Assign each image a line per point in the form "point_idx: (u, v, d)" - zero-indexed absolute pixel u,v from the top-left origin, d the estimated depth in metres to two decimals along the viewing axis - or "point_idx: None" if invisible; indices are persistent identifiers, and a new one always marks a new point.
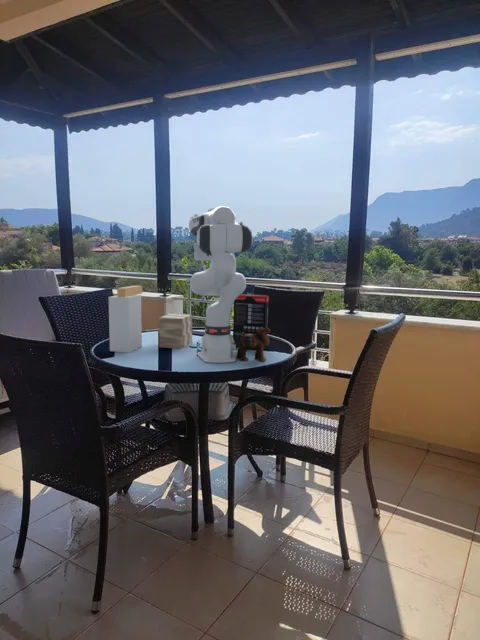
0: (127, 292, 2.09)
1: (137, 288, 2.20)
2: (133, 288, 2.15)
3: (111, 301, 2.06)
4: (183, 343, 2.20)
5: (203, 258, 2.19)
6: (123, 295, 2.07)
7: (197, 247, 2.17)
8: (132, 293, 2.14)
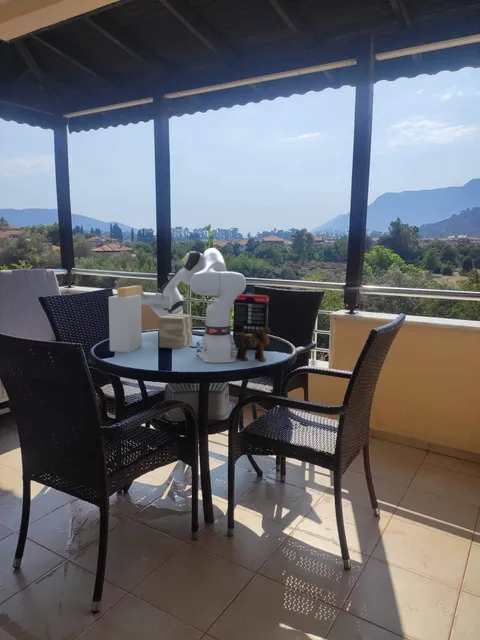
0: (127, 292, 2.09)
1: (137, 288, 2.20)
2: (133, 288, 2.15)
3: (111, 301, 2.06)
4: (183, 343, 2.20)
5: None
6: (123, 295, 2.07)
7: None
8: (132, 293, 2.14)
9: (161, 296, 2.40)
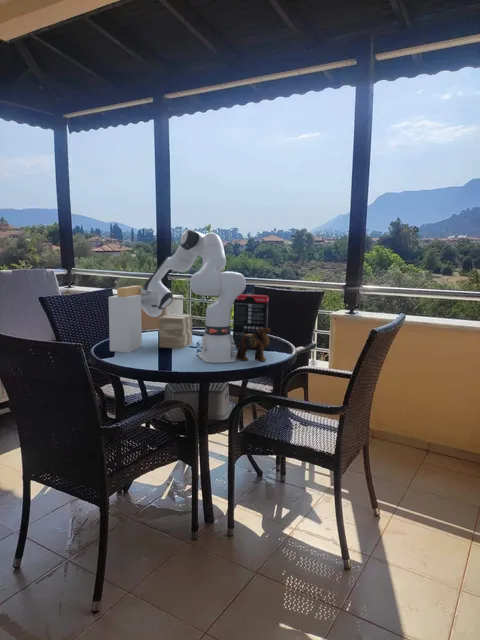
0: (127, 292, 2.09)
1: (137, 288, 2.20)
2: (133, 288, 2.15)
3: (111, 301, 2.06)
4: (183, 343, 2.20)
5: None
6: (123, 295, 2.07)
7: None
8: (132, 293, 2.14)
9: (145, 291, 2.24)
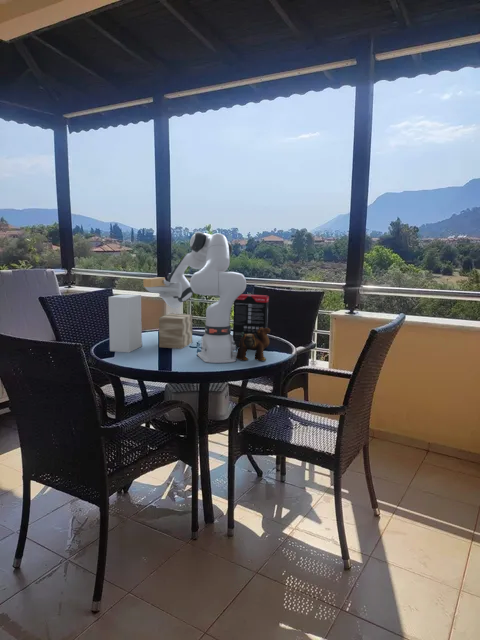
0: (153, 282, 2.21)
1: (161, 279, 2.31)
2: (157, 279, 2.27)
3: (111, 301, 2.06)
4: (183, 343, 2.20)
5: None
6: (149, 285, 2.19)
7: None
8: (157, 284, 2.26)
9: (168, 283, 2.35)
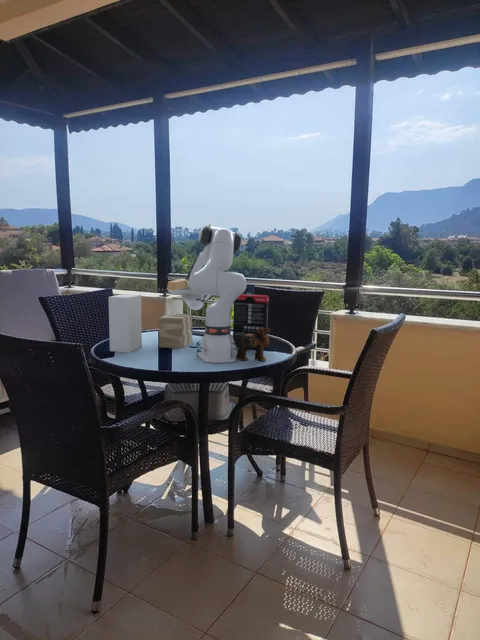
0: (177, 285, 2.19)
1: (184, 282, 2.29)
2: (181, 282, 2.24)
3: (111, 301, 2.06)
4: (183, 343, 2.20)
5: None
6: (173, 288, 2.16)
7: None
8: (180, 287, 2.24)
9: (191, 285, 2.33)
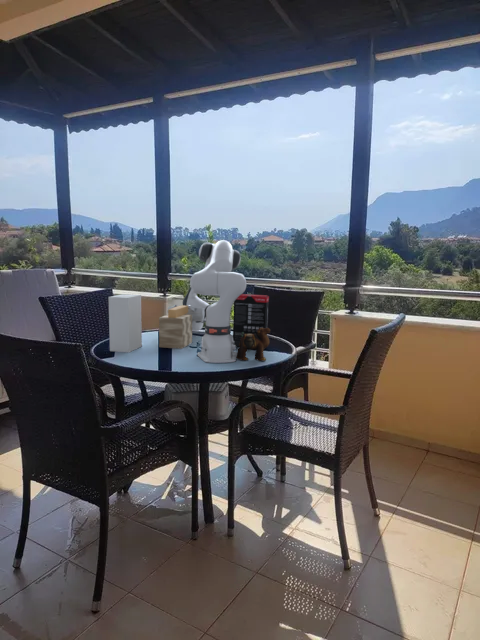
0: (177, 313, 2.21)
1: (184, 308, 2.31)
2: (181, 309, 2.27)
3: (111, 301, 2.06)
4: (183, 343, 2.20)
5: None
6: (174, 316, 2.18)
7: None
8: (181, 313, 2.26)
9: (193, 308, 2.34)
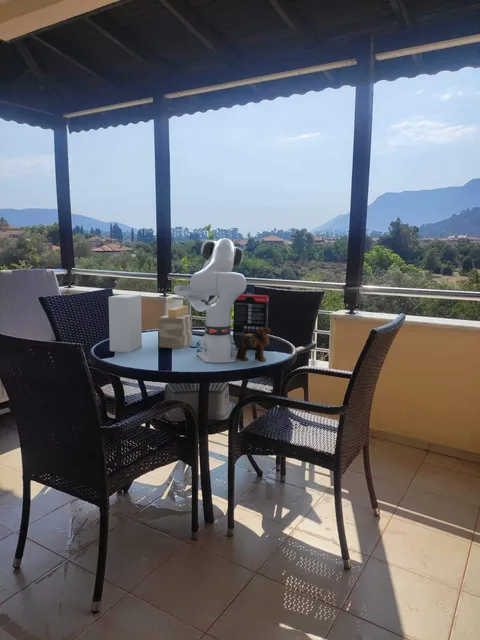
0: (177, 313, 2.21)
1: (184, 308, 2.31)
2: (181, 309, 2.27)
3: (111, 301, 2.06)
4: (183, 343, 2.20)
5: None
6: (174, 316, 2.18)
7: None
8: (181, 313, 2.26)
9: None
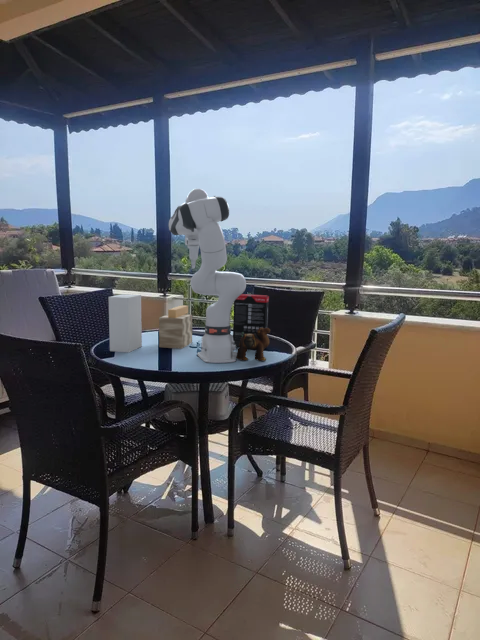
0: (177, 313, 2.21)
1: (184, 308, 2.31)
2: (181, 309, 2.27)
3: (111, 301, 2.06)
4: (183, 343, 2.20)
5: None
6: (174, 316, 2.18)
7: None
8: (181, 313, 2.26)
9: (193, 262, 2.31)
